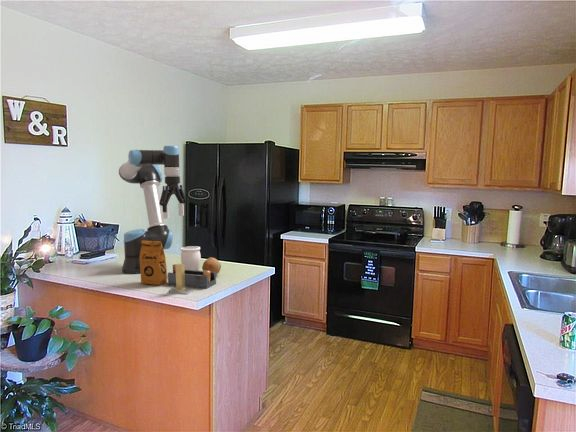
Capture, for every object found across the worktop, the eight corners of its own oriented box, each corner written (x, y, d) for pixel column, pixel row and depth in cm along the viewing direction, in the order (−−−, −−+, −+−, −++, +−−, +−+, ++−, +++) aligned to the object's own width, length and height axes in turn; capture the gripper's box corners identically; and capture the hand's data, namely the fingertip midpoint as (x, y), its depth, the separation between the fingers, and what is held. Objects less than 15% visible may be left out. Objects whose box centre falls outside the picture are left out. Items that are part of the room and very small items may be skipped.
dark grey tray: (168, 284, 212) (167, 266, 211) (178, 280, 221) (177, 262, 220) (206, 288, 205) (206, 269, 204) (216, 283, 213) (215, 265, 212)
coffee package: (159, 287, 209) (157, 242, 206) (137, 285, 212) (135, 241, 210) (170, 281, 218) (168, 239, 216) (149, 280, 222) (147, 238, 219)
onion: (222, 277, 226) (221, 258, 225) (203, 278, 223) (202, 260, 222) (219, 272, 235) (219, 255, 234) (201, 274, 233) (201, 256, 232)
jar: (204, 273, 236) (203, 246, 234) (194, 277, 226) (193, 249, 224) (188, 271, 239) (187, 245, 237) (177, 276, 229) (176, 248, 228)
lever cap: (168, 292, 199) (167, 264, 198) (174, 289, 204) (173, 262, 203) (187, 294, 196) (186, 266, 195) (193, 291, 201) (192, 264, 199)
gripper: (163, 176, 205) (165, 220, 207) (191, 175, 228) (193, 214, 231) (150, 176, 208) (152, 219, 210) (179, 175, 231) (181, 214, 233)
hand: (173, 217), depth 220 cm, fingers open, 13 cm apart
